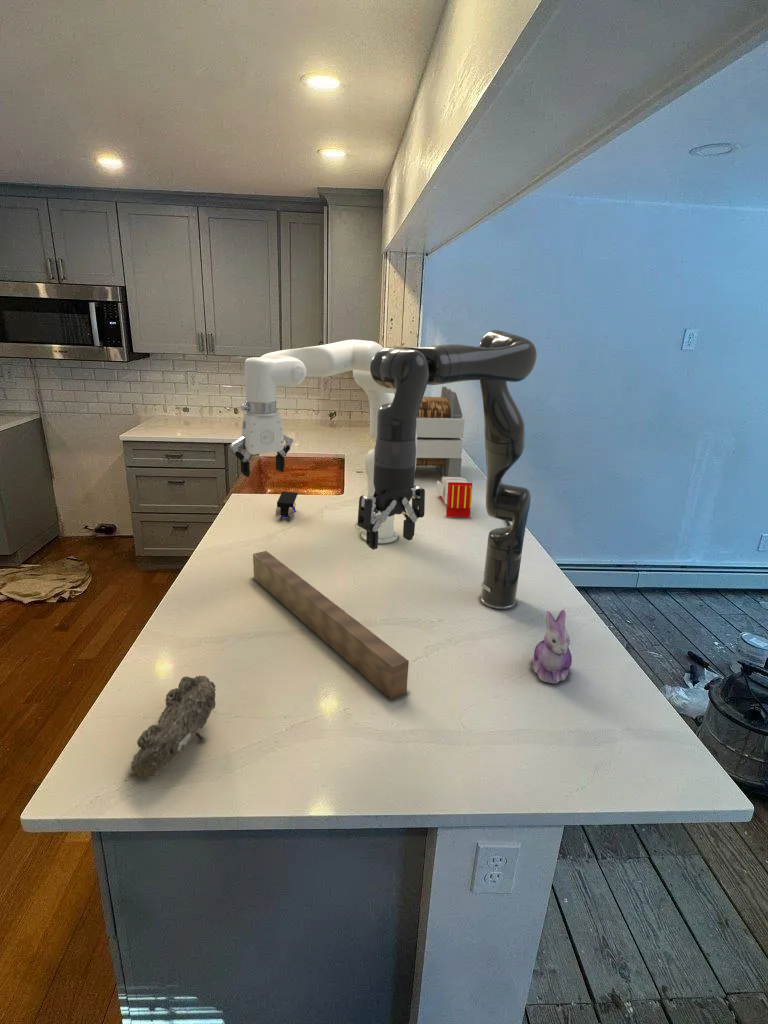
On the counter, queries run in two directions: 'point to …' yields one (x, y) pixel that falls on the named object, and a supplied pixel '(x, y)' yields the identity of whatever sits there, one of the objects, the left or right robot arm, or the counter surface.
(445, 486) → the toy
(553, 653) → the figurine
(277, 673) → the counter surface
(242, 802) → the counter surface
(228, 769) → the counter surface
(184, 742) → the fossil
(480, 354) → the right robot arm
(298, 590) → the beam
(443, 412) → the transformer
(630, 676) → the counter surface
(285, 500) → the figurine character
